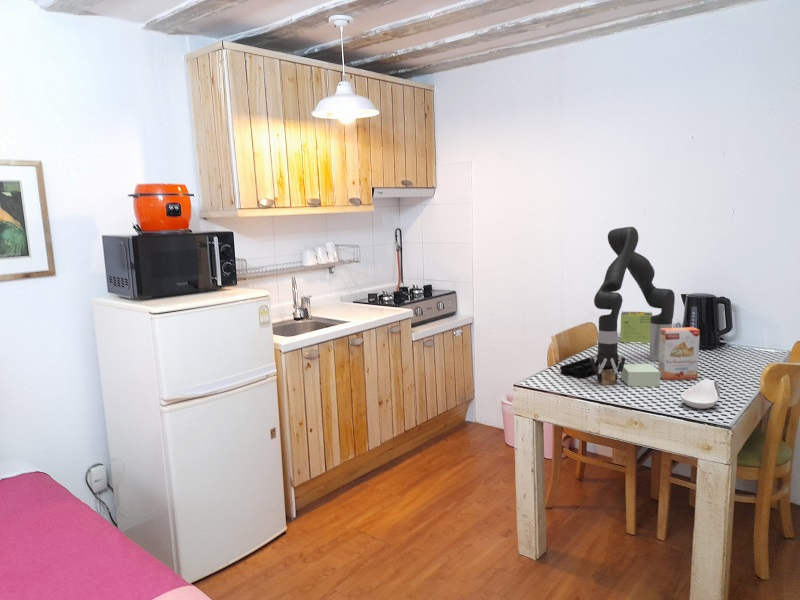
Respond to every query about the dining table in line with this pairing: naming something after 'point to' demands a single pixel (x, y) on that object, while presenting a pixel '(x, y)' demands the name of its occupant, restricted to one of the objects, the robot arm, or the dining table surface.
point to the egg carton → (582, 368)
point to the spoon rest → (702, 394)
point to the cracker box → (679, 353)
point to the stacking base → (640, 375)
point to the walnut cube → (608, 377)
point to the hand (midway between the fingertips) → (607, 381)
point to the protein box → (635, 326)
